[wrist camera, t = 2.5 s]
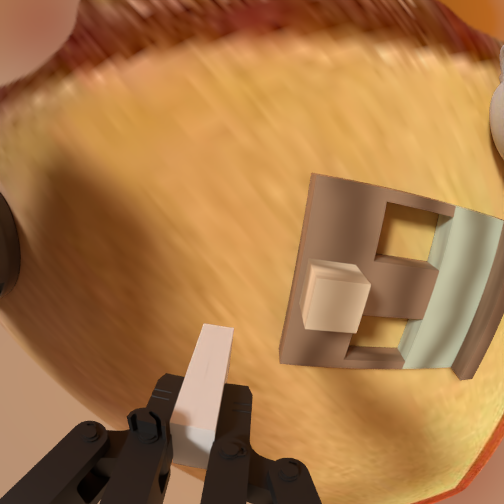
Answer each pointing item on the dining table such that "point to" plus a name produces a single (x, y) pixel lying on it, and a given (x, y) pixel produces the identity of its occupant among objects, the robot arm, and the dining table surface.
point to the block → (333, 296)
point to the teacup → (498, 110)
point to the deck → (401, 281)
